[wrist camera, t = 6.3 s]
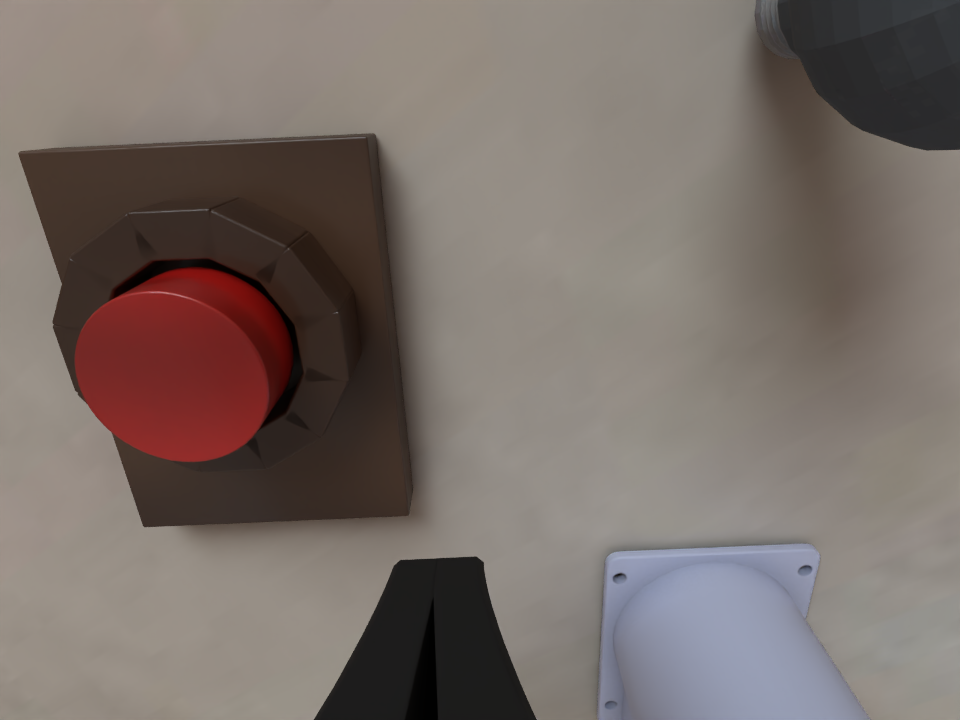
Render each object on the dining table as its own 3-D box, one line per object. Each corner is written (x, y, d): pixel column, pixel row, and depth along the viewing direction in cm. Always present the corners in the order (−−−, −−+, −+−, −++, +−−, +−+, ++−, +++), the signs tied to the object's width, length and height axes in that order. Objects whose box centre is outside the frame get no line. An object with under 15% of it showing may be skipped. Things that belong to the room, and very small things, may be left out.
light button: (306, 416, 16) (283, 459, 14) (149, 423, 16) (105, 467, 14) (278, 262, 15) (248, 286, 13) (102, 270, 15) (45, 295, 13)
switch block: (413, 489, 21) (402, 558, 18) (164, 500, 21) (109, 571, 18) (376, 133, 16) (352, 140, 13) (54, 147, 16) (-48, 158, 13)
